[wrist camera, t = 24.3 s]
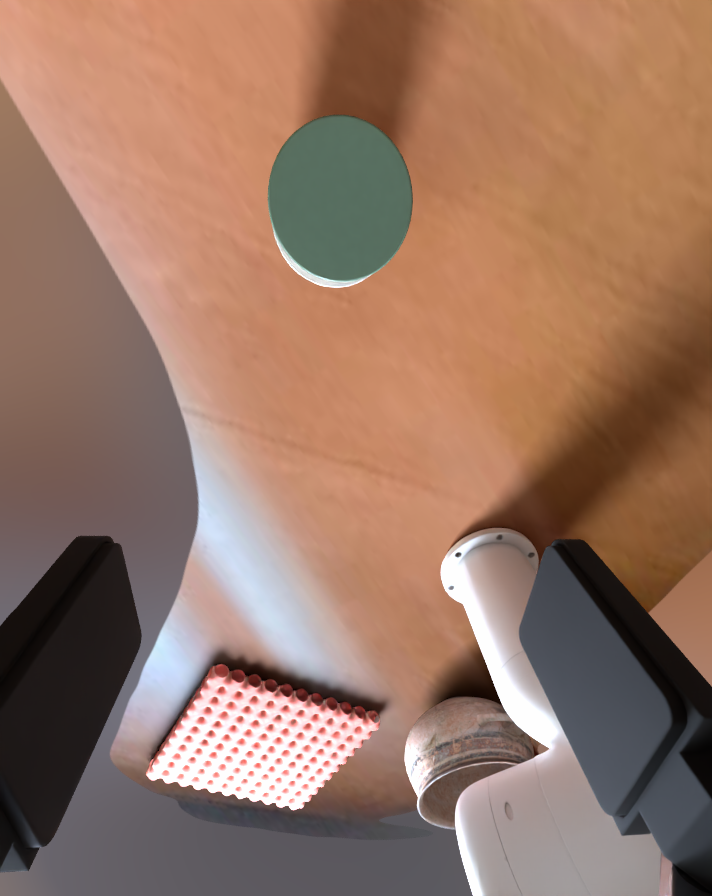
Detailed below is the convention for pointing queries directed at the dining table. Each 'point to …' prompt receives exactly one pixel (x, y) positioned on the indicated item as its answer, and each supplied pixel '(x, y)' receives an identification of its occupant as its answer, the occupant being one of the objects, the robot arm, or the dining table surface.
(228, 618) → the dining table surface
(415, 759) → the cooking pot
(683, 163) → the dining table surface
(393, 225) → the sage cylinder
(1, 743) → the robot arm
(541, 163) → the dining table surface
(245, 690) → the pink perforated square mat
